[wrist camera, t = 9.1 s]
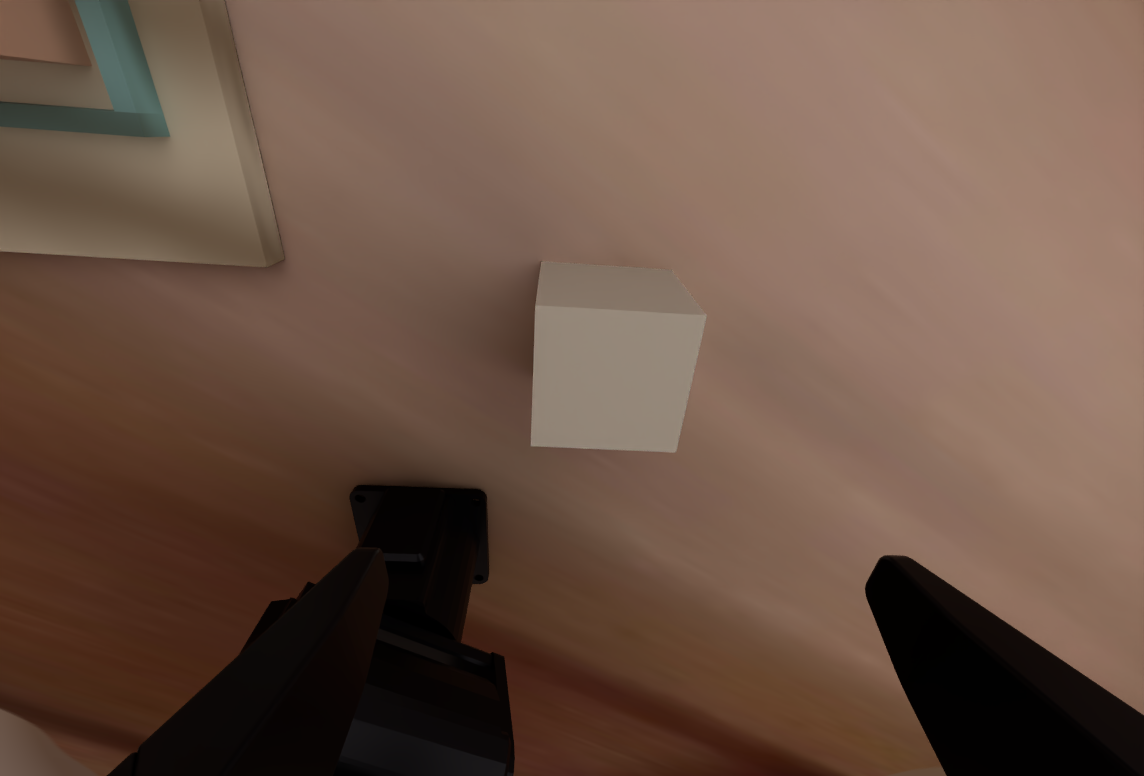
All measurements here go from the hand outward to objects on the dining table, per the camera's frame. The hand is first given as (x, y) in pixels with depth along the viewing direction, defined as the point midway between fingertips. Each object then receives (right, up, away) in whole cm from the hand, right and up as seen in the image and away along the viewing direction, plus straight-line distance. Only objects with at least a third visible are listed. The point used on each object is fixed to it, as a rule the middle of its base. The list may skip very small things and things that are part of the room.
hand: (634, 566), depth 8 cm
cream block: (0, +6, +11) cm, 12 cm away
